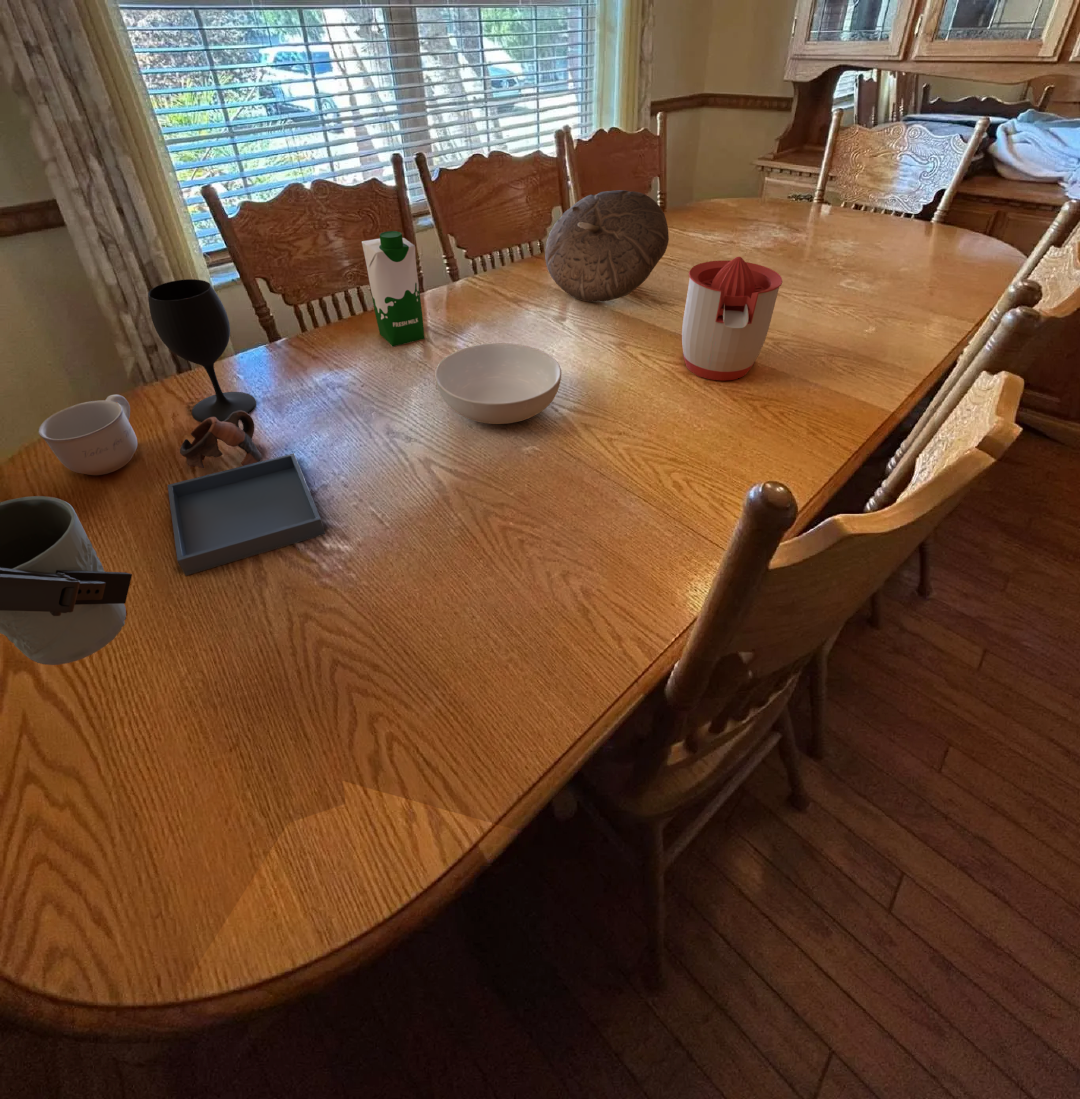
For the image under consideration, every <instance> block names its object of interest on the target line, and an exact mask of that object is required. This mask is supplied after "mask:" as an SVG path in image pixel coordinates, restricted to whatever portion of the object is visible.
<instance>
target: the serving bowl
mask: <svg viewBox="0 0 1080 1099" xmlns="http://www.w3.org/2000/svg"><path fill="white" fill-rule="evenodd" d="M434 381H435V384H436V387H437V391H438V393H439V395H440V397H441V398H442V400H443V401H444V403H445V404H446V405H447V406H448V407H449V408H450V409H451V410H452V411H454V412H455V413H456V414H458V415H459V416H462V417H463V418H465V419H468V420H471V421H473V422H477V423H482V424H488V425H489V424H490V425H506V424H513V423H518V422H522V421H525V420H528V419H530V418H533V417H535V416H537V415H538V414H540V413H542V412H543V411H544V410H545V409H547V408H548V407H549V406H550V404H551V403H552V402H553V400H554V399H555V398H556V396H557V394H558V391H559V388H560V385H561V381H562V368H561V365H560V364H559V362H558V361H557V360H556V359H555V358H554V357H553V356H552V355H551V354H549V353H548V352H546V351H544V350H542V349H539V348H536V347H533V346H530V345H525V344H521V343H520V344H519V343H512V342H489V343H480V344H475V345H470V346H467V347H463V348H461V349H457V350H456V351H454V352H451V353H450V354H448V355H446V356H445V357H444V358H443V359H441V360H440V362H438V364H437V366H436V367H435V371H434Z"/></svg>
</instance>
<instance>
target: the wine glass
mask: <svg viewBox="0 0 1080 1099" xmlns="http://www.w3.org/2000/svg"><path fill="white" fill-rule="evenodd" d="M147 300H148V301H147V302H148V308H149V314H150V318H151V321H152V324H153V328H154V329H155V331H156V333H157V336H158V337H159V338H160V340H161V341H162V343H163V344H164V345H165V346H166V348H168V350H170V351H171V352H172V353H173V354H175V355H176V356H179V357H180V358H181V359H183V360H185V361H187V362H189V363H193V364H195V365H199V366H201V367H202V368H203V369H204V370H205V371H206V373H207V375H208V377H209V380H210V382H211V385H212V387H213V390H214V393H215V394H213V395H210V396H207V397H204V398H203V399H200V400H199V401H198V402H196V404H195V405H194V406H193V407H192V409H191V415H192V418H193V419H194V420H195V421H197V422H199V423H202V422H203V421H204V420H206V419H207V418H210V417H216V418H217V419H218V420H219V421H221V422H222V421H225V420H226V419H227V418H228V416H229V415H230V414H231V413H233V412H235V411H238V410H241V411H245V412H246V413H248V414H249V415H250V414H251V413H252V412H253V411H254V410H255V409H256V407H257V400H256V398H255V397H254V396H253V395H252V394H250V393H247V392H242V391H226V392H223V390H222V388H221V385H220V383H219V380H218V377H217V374H216V371H215V363H216V362H217V360H219V358H221V356H222V355H223V353H224V352H225V350H226V349H227V347H228V345H229V342H230V336H231V325H230V320H229V316H228V312H227V310H226V308H225V306H224V304H223V302H222V300H221V298H220V297H219V295H218V293H217V292H216V291H215V289H214V287H213V286H212V285H211V283H210V282H209V281H206V280H203V279H196V278H194V279H192V278H189V279H187V278H185V279H177V280H173V281H172V280H171V281H167V282H164V283H161V284H158V285H156V286H154V287H153V288H151V289H150V290H149V291H148V293H147Z"/></svg>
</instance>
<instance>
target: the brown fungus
mask: <svg viewBox="0 0 1080 1099" xmlns="http://www.w3.org/2000/svg"><path fill="white" fill-rule="evenodd" d="M669 240H670V236H669V226H668V221H667V218H666V215H665V212H664V211H663V208H662V207H661V206H660V205H659V204H658V203H657V201H655V200H654V199H653V198H652V197H651V196H648V195H647V194H646V193H645V194H644V193H643V192H639V191H635V190H634V191H630V190H623V189H622V190H620V189H619V190H615V189H614V190H606V191H600V192H598V193H597V194H587V195H586V196H584V197H583V198H581V199H580V200H578V201H577V202H575V203H574V204H572V206H570V208H568V209H567V210H564V212H563V213H562V215H561V217H559V218H558V219H557V220H556V222H555V223H554V225H553V226H552V228H551V230H550V231H549V234H548V236H547V239H546V243H545V249H544V250H545V253H544V259H545V264H546V265H545V266H546V269H547V271H548V273H549V275H550V277H551V278H552V280H553V281H554V283H555V284H556V285H557V286H558V287H559V288H560V289H561V290H562V291H564V292H565V293H566V294H567V295H569V296H570V297H572V298H575V299H577V300H579V301H584V302H592V303H596V302H601V303H602V302H608V301H612V300H617V299H621V298H623V297H625V296H627V295H629V294H630V293H632V292H633V291H634V290H636V289H637V288H638V287H640V286H641V285H642V284H643V283H644V282H645V280H647V279H648V277H650V275H651V274H652V272H653V270H654V269H655V267H656V266H657V265H658V263H659V262H660V260H661V259H662V258H663V257H664V255H665V254H666V252H667V248H668V245H669V242H670V241H669Z"/></svg>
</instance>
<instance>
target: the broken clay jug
mask: <svg viewBox="0 0 1080 1099" xmlns="http://www.w3.org/2000/svg"><path fill="white" fill-rule="evenodd" d="M240 422H241V424H242V428H240V424H239V423H240ZM189 434H190V436H191V437H192V438H194V439H193V440H192V442H191V441H190V440H189V439H187V438H185V439H184V441H183V442H182V443H181V445H180V447H179V454H180V455H181V456H183V457H184V458H185V460H186V464H187V466H188V467H189V468H190V467H191V468H193V467H198V468H200V469H202V470H203V469H205V466H204V462H203V461H204V460H205V459H206V457H207V458H215V459H216V458H220V457H222V456H223V455H224V453H223V452H222V451H221V449H220V447H219V444H218V440H219V441H221V442H223V443H224V444H226V445H227V446H229V447H233V448H236V447H238V448H241V449H242V450H243V451H244V452H245V456H244V458H243V459H242V460H241V462H240V465H241V466H245V465H249V464H253V463H257V462H261V461H262V456H263V455H262V453H261V452H260V451H259V449H258V448H257V446H256V444H255V442H254V441H253V437H254V434H255V422H254V420H253V417H252V416H251V415H250V414H248V413H246V412H245V411H241V410H238V411H235V412H233V413H231V414H230V415H229V416H228V418H227V419H226V420H225V421H222V422H221V421H219V420H218V419H217V418H216V417H210V418H207V419H206V420H204V421H203V422H202V423H201V422H199V423H198V425H197V426H195V427H194V429H193V430H191V432H190V433H189Z"/></svg>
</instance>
